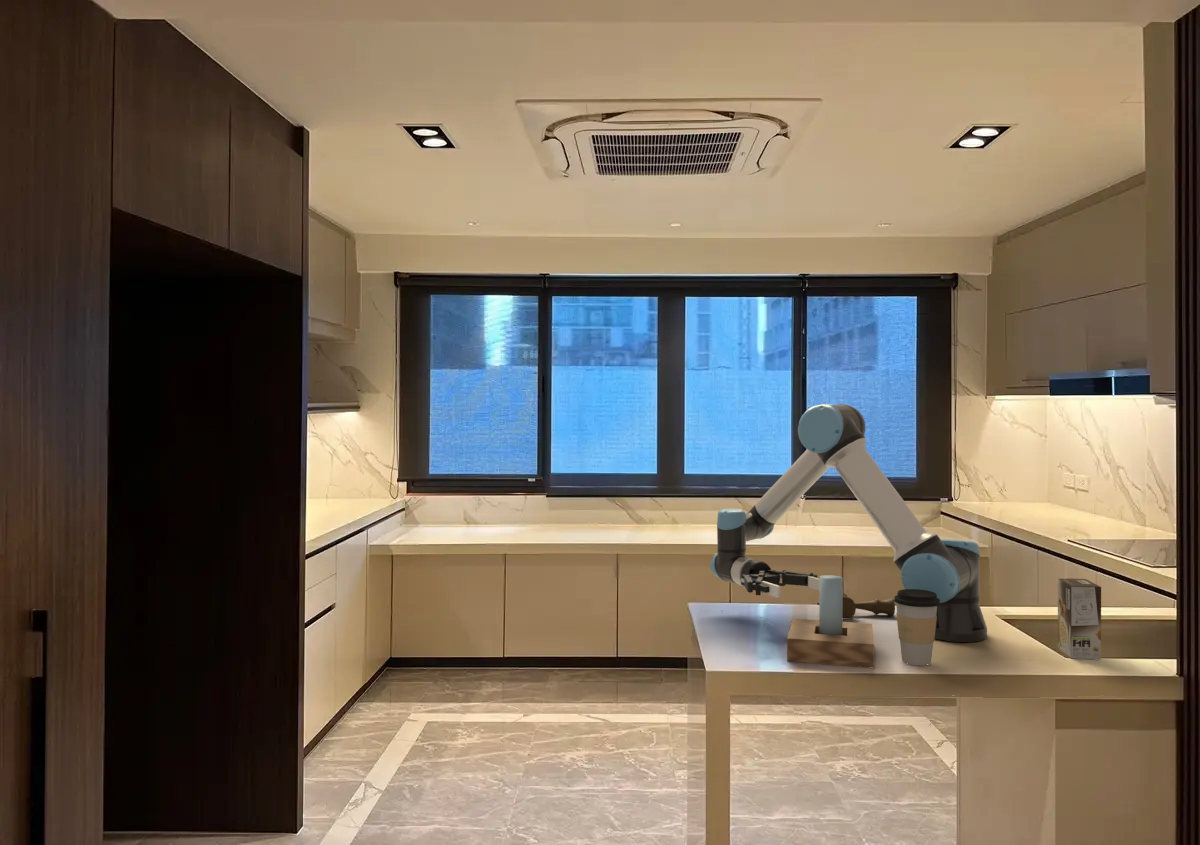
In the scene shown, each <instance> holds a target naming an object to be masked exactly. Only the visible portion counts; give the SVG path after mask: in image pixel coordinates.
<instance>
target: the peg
mask: <svg viewBox="0 0 1200 845" xmlns="http://www.w3.org/2000/svg"><path fill="white" fill-rule="evenodd" d="M819 579H820V591H819V596H818V597H819V599H818V600H819V602H818V603H819V605H818V606H819V607H818V608H819V613H818V615H819V618H818V620H819V634H827V635H842V622H843V619H842V610H843V593H844V592H843V584H844V583H843V581H844V580H843V579H844V578H843V577H842V576H840V575H839V576H838V575H831V574H829V575H828V574H827V575H825V574H824V575H819Z"/></svg>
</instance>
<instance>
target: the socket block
mask: <svg viewBox="0 0 1200 845" xmlns="http://www.w3.org/2000/svg"><path fill="white" fill-rule="evenodd" d="M789 627H790V628H789V630H788V633H787V634H788V635H787V638H786V639H787V640H786V643H787V644H786V645H787V646H786V651H787V653H786V654H787V655H786V656H787V657H786V662H791V661H794V662H793V663H804V662H806V663H808V664H818V665H819V664H820V665H821V664H822V665H832V666H833V665H834V666H843V665H846V667H856V666H862V667H861V668H869V667H874V668H875V641H874V629H873V623H868V622H853V621H852V622H851V621H842V635H827V634H819V619H806V618H805V619H804V618H792V620H791V624H790V626H789ZM795 661H796V662H795Z"/></svg>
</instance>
